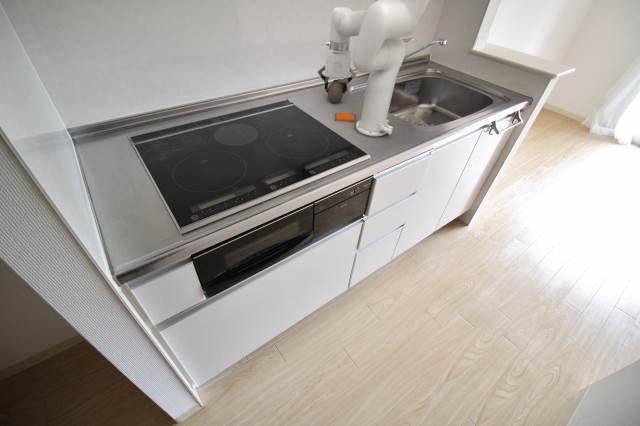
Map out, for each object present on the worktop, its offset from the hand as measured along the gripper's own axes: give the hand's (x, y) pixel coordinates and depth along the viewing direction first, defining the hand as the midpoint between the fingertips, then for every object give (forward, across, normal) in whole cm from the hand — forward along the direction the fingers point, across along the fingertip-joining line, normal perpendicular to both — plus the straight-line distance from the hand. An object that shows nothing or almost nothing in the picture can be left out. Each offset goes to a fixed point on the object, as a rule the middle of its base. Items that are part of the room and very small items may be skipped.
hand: (335, 91), depth 125 cm
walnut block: (+4, +3, +15) cm, 16 cm away
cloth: (+5, +4, -15) cm, 16 cm away
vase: (+4, 0, 0) cm, 4 cm away
